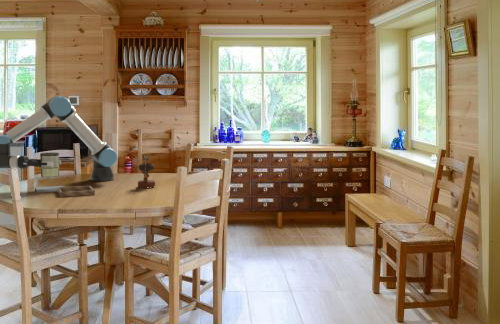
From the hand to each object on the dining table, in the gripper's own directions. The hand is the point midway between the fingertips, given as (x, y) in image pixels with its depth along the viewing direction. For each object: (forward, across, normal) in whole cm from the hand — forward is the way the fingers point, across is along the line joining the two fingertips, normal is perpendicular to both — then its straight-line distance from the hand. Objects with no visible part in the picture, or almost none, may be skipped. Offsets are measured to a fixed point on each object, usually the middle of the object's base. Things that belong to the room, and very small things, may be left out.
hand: (57, 163), depth 298 cm
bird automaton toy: (+48, -17, -16) cm, 53 cm away
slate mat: (-4, 0, -16) cm, 16 cm away
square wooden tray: (+15, +10, -16) cm, 24 cm away
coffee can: (-4, 0, -9) cm, 10 cm away
